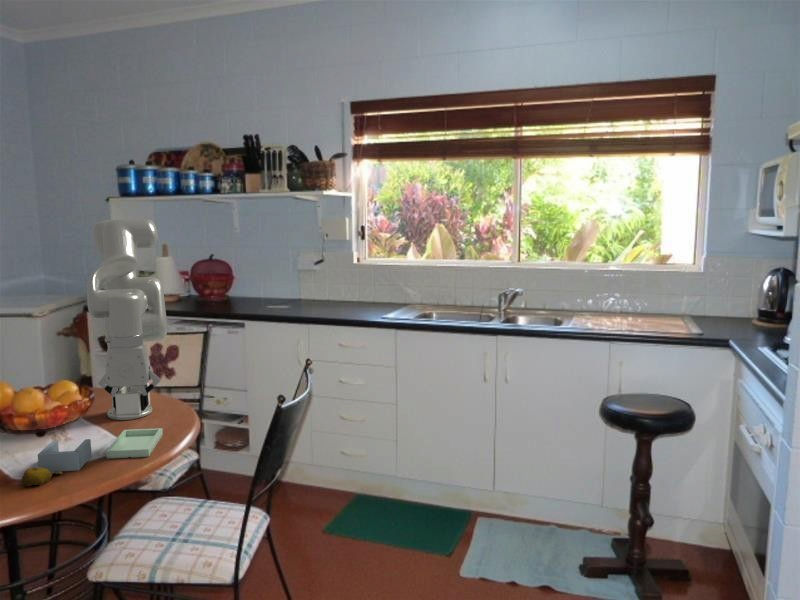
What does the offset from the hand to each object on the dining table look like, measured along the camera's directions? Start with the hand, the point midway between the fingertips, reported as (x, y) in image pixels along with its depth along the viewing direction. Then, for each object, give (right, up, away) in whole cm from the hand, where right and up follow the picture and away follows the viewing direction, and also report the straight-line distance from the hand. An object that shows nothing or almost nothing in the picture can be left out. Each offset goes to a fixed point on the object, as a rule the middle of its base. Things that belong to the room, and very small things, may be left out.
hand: (131, 408), depth 158 cm
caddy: (0, -1, +2) cm, 2 cm away
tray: (0, -11, +4) cm, 11 cm away
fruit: (-14, -14, -15) cm, 25 cm away
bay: (-13, -12, -7) cm, 19 cm away
